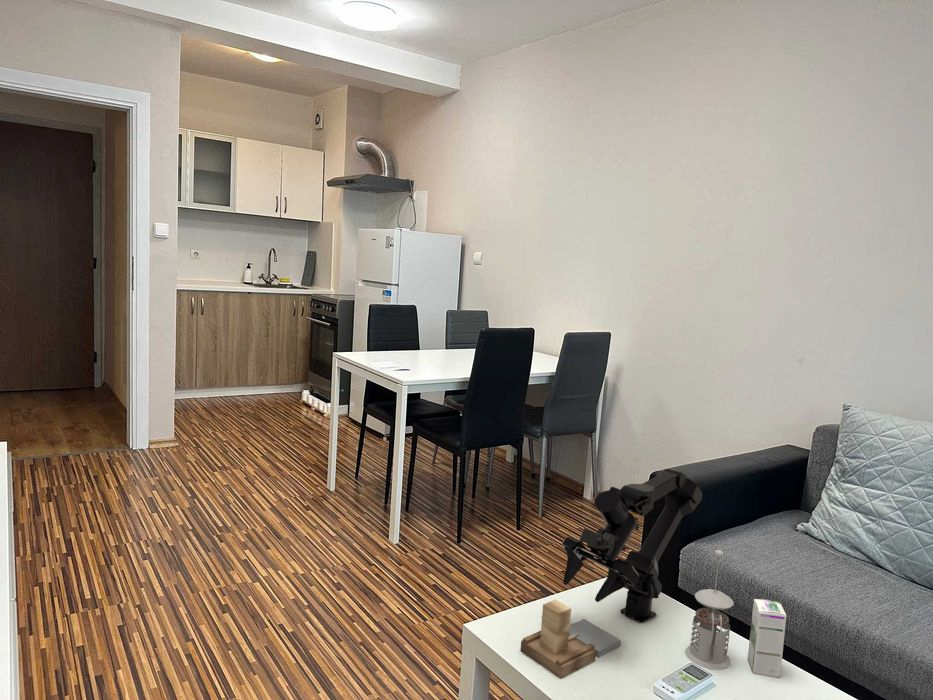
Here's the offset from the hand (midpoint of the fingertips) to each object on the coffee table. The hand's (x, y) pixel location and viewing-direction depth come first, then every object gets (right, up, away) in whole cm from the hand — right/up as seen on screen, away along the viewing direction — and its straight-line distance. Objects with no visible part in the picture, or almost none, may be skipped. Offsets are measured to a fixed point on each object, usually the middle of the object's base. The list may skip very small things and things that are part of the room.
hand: (579, 592), depth 149 cm
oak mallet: (-4, -11, -1) cm, 11 cm away
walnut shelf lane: (-5, -13, -2) cm, 14 cm away
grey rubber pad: (+3, -13, +5) cm, 14 cm away
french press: (+29, -15, 0) cm, 32 cm away
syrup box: (+40, -16, -2) cm, 43 cm away
